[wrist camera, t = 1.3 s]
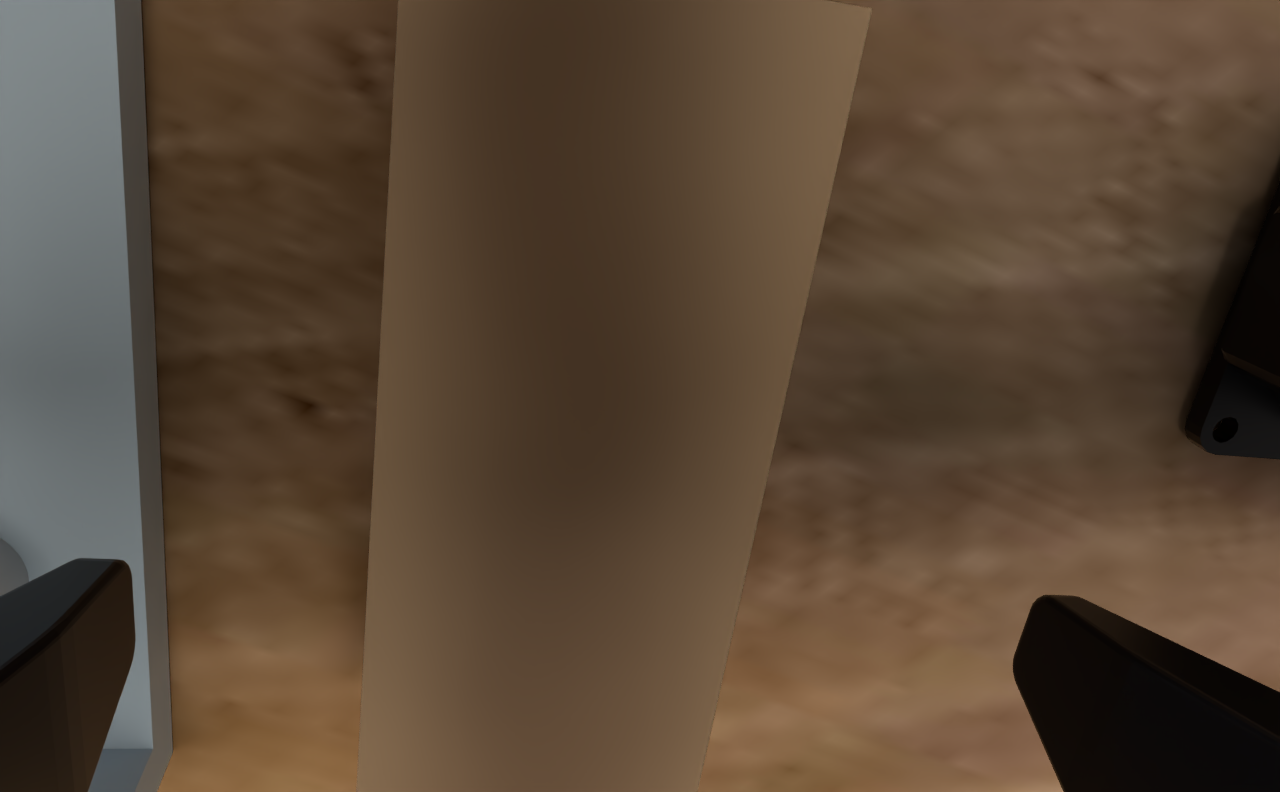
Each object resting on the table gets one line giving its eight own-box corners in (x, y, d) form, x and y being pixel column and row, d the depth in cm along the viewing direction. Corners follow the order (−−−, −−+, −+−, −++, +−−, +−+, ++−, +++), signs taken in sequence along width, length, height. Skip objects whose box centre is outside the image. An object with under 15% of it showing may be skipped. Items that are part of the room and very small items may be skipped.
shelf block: (768, 7, 14) (872, 8, 10) (645, 668, 18) (687, 834, 15) (423, -52, 13) (401, -75, 9) (379, 662, 17) (353, 840, 13)
